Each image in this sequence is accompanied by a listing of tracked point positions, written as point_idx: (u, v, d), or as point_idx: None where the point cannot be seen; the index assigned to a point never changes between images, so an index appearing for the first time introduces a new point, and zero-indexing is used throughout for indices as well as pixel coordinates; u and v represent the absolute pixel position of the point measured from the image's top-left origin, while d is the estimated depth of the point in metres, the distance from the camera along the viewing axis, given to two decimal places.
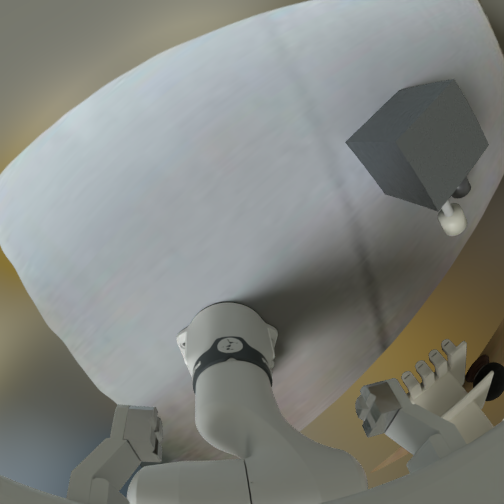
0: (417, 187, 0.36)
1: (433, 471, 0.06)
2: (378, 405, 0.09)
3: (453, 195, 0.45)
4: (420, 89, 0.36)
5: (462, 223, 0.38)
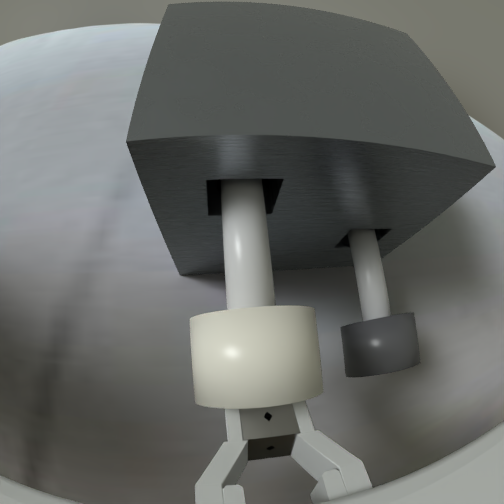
0: None
1: (433, 471, 0.06)
2: (271, 426, 0.09)
3: (348, 366, 0.15)
4: None
5: (268, 363, 0.08)
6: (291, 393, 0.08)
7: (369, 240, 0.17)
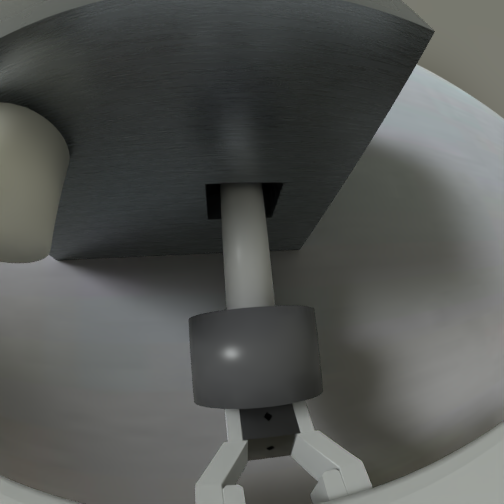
0: None
1: (433, 471, 0.06)
2: (272, 426, 0.09)
3: None
4: None
5: None
6: None
7: (242, 190, 0.12)
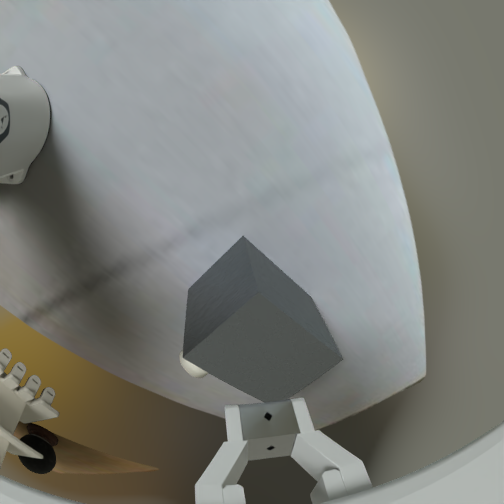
0: (205, 327, 0.33)
1: (433, 471, 0.06)
2: (272, 426, 0.09)
3: None
4: (320, 321, 0.41)
5: (199, 371, 0.35)
6: (198, 376, 0.36)
7: None
